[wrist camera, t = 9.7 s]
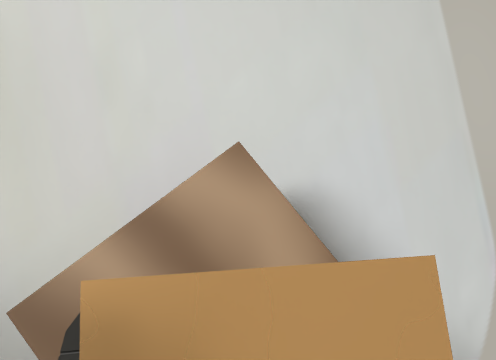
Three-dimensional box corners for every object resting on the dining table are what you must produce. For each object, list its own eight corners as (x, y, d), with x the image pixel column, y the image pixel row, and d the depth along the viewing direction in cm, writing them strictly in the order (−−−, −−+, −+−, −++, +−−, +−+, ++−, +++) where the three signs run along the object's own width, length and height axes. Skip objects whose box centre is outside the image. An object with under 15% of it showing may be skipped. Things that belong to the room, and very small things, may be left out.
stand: (191, 517, 23) (190, 575, 19) (41, 308, 25) (6, 313, 20) (374, 339, 27) (411, 351, 22) (231, 165, 28) (238, 141, 24)
